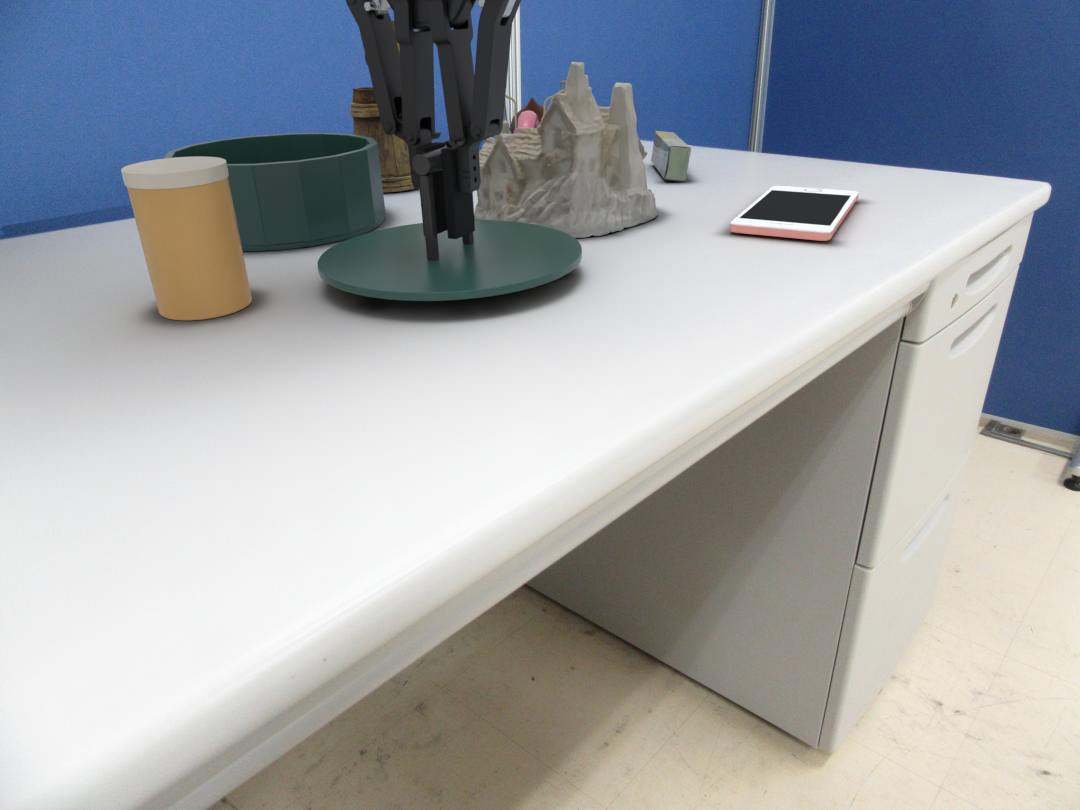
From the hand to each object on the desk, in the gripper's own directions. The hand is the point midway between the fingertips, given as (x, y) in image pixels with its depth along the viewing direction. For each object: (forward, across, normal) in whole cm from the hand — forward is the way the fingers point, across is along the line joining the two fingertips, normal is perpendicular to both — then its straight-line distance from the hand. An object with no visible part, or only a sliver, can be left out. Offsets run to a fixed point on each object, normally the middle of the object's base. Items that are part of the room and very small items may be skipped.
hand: (449, 232), depth 61 cm
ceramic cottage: (+4, 0, -21) cm, 21 cm away
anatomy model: (+4, +15, -42) cm, 45 cm away
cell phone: (+4, -21, -30) cm, 36 cm away
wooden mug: (+4, +28, -30) cm, 41 cm away
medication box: (+4, -2, -47) cm, 47 cm away
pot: (+3, +25, -8) cm, 26 cm away
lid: (+2, 0, 0) cm, 2 cm away
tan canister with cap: (+3, +13, +13) cm, 19 cm away
